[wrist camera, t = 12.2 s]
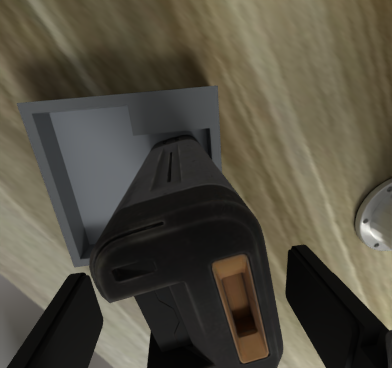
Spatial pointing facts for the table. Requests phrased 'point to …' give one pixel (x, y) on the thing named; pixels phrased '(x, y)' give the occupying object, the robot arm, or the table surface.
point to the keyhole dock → (109, 150)
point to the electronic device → (191, 264)
